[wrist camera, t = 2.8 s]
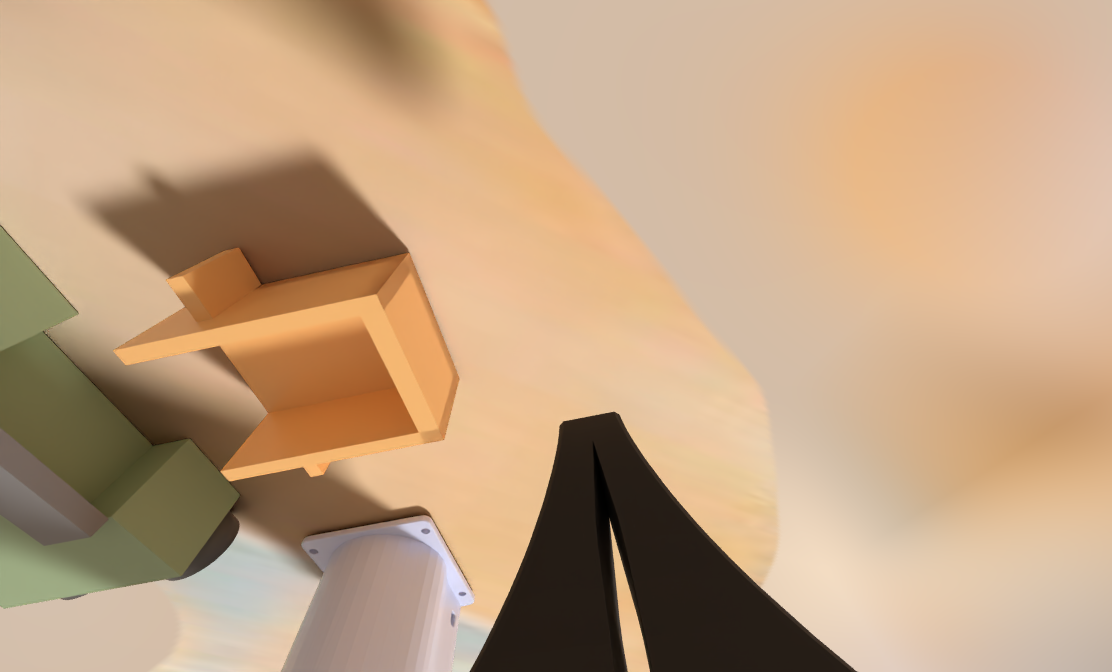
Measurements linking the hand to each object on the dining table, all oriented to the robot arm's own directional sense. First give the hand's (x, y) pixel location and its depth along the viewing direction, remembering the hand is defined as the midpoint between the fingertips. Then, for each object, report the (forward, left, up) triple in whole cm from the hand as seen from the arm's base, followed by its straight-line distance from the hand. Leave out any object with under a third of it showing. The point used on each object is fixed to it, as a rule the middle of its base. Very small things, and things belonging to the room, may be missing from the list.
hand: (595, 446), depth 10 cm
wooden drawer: (0, +10, -9) cm, 14 cm away
